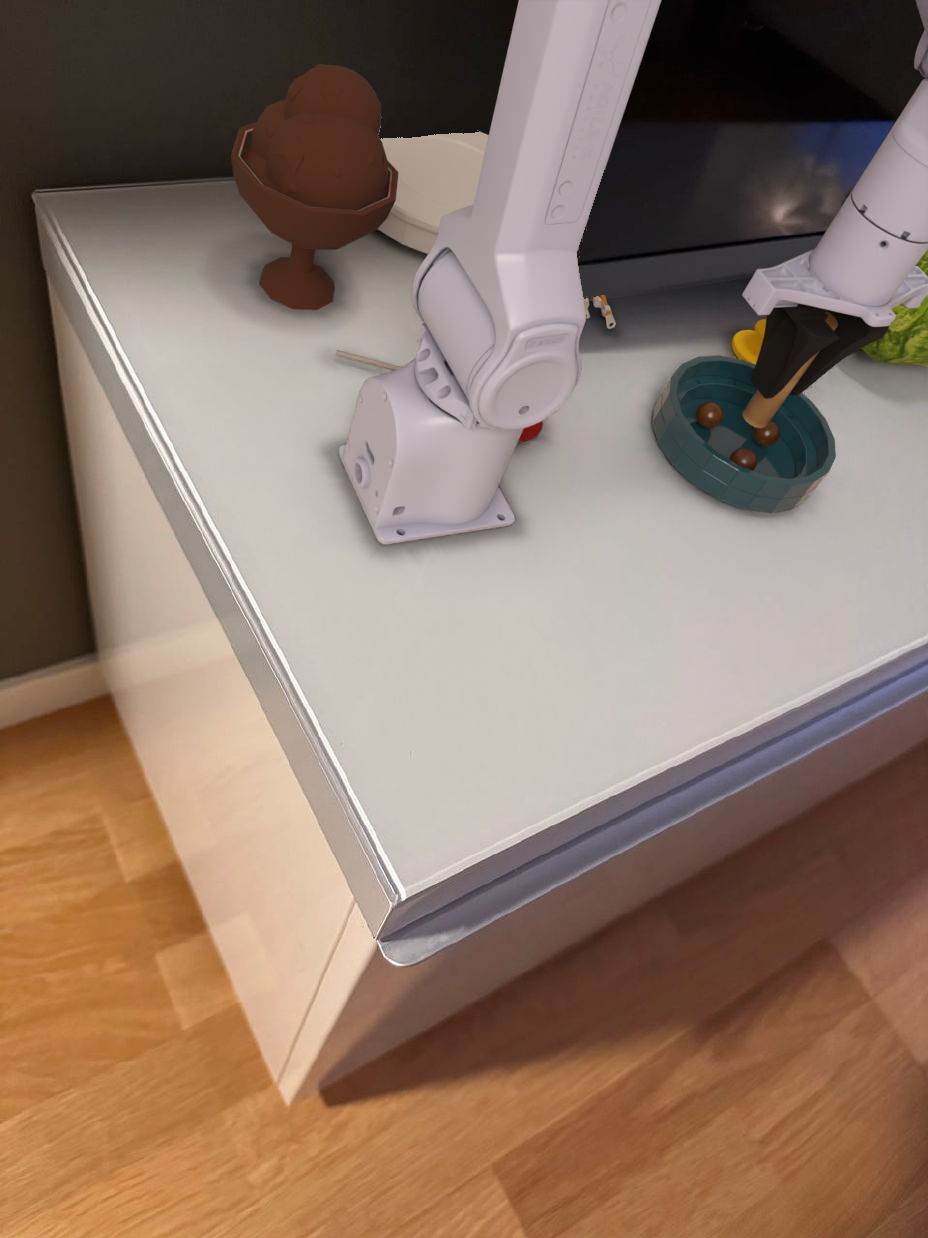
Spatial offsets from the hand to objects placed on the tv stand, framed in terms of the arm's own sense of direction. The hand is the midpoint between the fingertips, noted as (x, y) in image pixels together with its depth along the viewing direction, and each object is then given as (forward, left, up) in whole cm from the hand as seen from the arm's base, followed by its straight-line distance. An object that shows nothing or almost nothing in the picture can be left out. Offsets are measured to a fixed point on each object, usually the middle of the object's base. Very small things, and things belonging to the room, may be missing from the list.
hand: (774, 387), depth 68 cm
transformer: (+1, +23, -4) cm, 23 cm away
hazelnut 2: (-1, -2, -5) cm, 6 cm away
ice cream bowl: (-28, +20, -6) cm, 35 cm away
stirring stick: (0, 0, -3) cm, 3 cm away
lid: (-11, +31, -6) cm, 33 cm away
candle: (+10, +10, -6) cm, 16 cm away
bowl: (0, 0, -6) cm, 6 cm away
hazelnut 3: (+3, 0, -5) cm, 5 cm away
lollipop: (-21, +9, -6) cm, 24 cm away
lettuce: (+29, +17, 0) cm, 34 cm away
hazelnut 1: (-1, +2, -5) cm, 6 cm away
